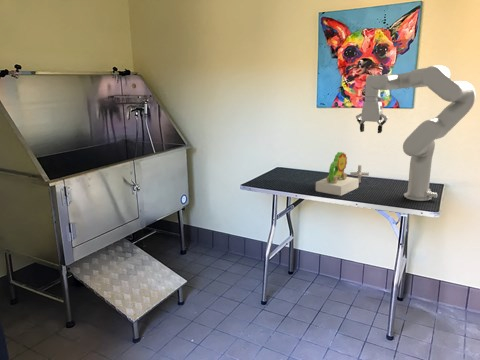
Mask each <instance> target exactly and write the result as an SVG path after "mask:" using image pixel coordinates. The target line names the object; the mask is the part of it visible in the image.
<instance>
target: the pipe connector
mask: <svg viewBox="0 0 480 360" xmlns="http://www.w3.org/2000/svg"><path fill="white" fill-rule="evenodd" d="M349 173H350V174H349V175H350V176H357V178H358V179H359V184H360V183H361V182H362V180H361V179H362V177H363V176H369V175H370V173H369V172H367V171H366V172H364V171H363V172H362V164H358V167H357V171H351V172H349Z"/></svg>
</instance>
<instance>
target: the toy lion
mask: <svg viewBox="0 0 480 360" xmlns="http://www.w3.org/2000/svg"><path fill="white" fill-rule="evenodd" d="M347 162H348V157H347V154H346V153H345V152H342V151H338V152H337V153H336V154H335V155H334V159H333V161H332V162H331V163H330V165H329V170H328V175H327V177H326V178H327V182H331V181H332V182H333V183H337V181H338V179H339V178H342V179H344V180H345V179H346V177H348V174H347V173H345V169H346V168H347V164H348V163H347Z"/></svg>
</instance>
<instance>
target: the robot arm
mask: <svg viewBox="0 0 480 360" xmlns="http://www.w3.org/2000/svg"><path fill="white" fill-rule="evenodd" d="M450 77H451V71H450V69H449V68H448V67H446V66H444V65H430V66H427V67H423V68H422V67H421V68H417V69H411V71H409V72H404V73H403V72H402V73H396V74H391V73H389V74H381V75H378V74H377V75H376V74H375V75H374V74H373V75H367V76H366V79H365V92H364V93H365V95H364V102H363V105H362V108H361V113H359V114H357V115H355V119H356V121H357V122H358V124H359V131H360V133H363V132H365V124H364V123H366V122H370V123H371V122H373V123H375V122H376V123H377V124H378V126H377V134H381V133H382V132H383V126H384V125H385V123H387V121H388V118H389V117H388V116H387V115H385V114H384V113H383V104H382V103H383V102H382V101H383V97H382V96H381V91H388V90H399V89H408V88H411V89H416V88H426V87H427V88H428V89H429V90H430V91H431V92H433V93H434V94H435V95H437V96H438V97H439V98H441V100H443V101H444V102H449V104H448V105H446V107H444V109H442V111H441V112H440V113H438V115H437V116H435V117H433V118H430V119H426V120H424V121H423V122H421V123H420V124H419V125H418V126H417V127H416V128H415V129H414V130H413V131H412V132H411V133H410V134H409V135H408V136H407V138H406V139H404V141H403V145H402V150H403V152H404V154H405V155H406V156H409V157H410V161H409V171H408V172H409V173H408V184H407V185H408V186H407V191H406V192H405V193H403V197H404V198H406V199H408V200H409V201H410V200H411V201H417V202H424V201H426V202H427V201H431V200H432V198H438V193H437V192H434V191H433V192H432V191H431V188H430V181H431V170H432V162H433V155H434V151H435V147H436V143H435V141H436V140H438V139H439V140H440V139H441V138H444V137H445V136H446V135H447V134H448V133H449V132H450V131H451V130H452V129H453V128H454V127H455V126H456V125H458V123H459V122H460V121H461V120H462V119H463V118H464V117H466V115H467V114H468V113H469V112H470V111H471V110H472V108H473V106H474V104H475V101H476V91H475V87H474V86H473V85H472V84H471V83H469V82H468V81H464V80H459V81H457V80H456V81H454V80H453V79H452V78H450ZM360 118H361V119H360Z"/></svg>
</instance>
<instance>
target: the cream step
mask: <svg viewBox="0 0 480 360" xmlns="http://www.w3.org/2000/svg"><path fill="white" fill-rule="evenodd" d="M359 184H360V183H359V179H358V177H351V176H347V177H346V179H345V180H344V179H342V178H339V179H338V181H337V183H333V182H332V181H331V182H327V177H325V178H322V179H320V180H318V181H315V191H316V192H319V193H323V194H324V193H325V194H328V195H329V194H330V195H335V196H340V197H341V196H343V195H346V194H348V193H350V192H352V191H354V190H357V189H358V188H359Z"/></svg>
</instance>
